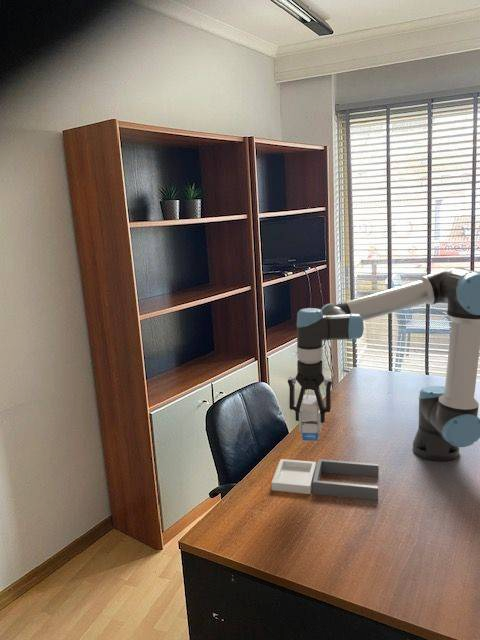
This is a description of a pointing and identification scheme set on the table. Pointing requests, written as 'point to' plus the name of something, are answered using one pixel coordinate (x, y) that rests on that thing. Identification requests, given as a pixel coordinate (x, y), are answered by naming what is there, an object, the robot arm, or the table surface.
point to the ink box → (309, 418)
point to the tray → (294, 476)
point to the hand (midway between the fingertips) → (310, 430)
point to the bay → (345, 488)
